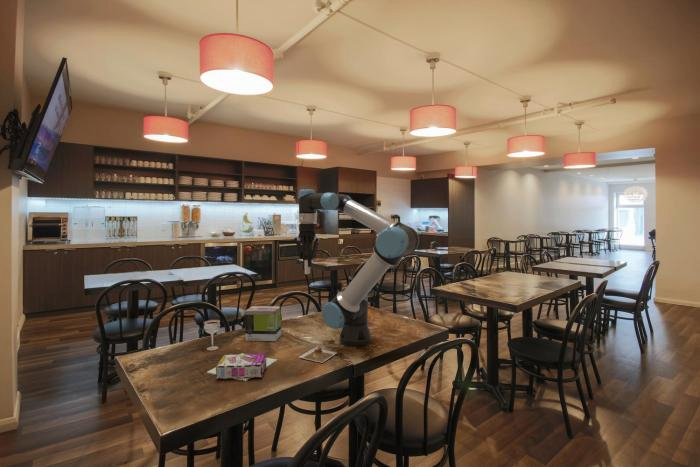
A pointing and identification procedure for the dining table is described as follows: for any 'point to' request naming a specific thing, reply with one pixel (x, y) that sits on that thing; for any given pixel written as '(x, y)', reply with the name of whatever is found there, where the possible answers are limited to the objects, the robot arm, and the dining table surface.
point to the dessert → (317, 354)
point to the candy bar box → (241, 366)
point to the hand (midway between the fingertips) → (307, 273)
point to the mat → (268, 362)
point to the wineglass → (212, 330)
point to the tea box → (263, 323)
